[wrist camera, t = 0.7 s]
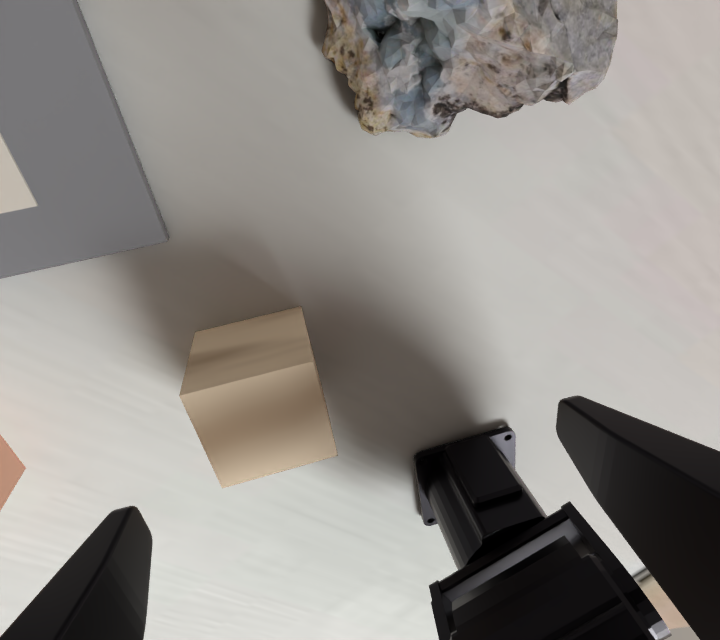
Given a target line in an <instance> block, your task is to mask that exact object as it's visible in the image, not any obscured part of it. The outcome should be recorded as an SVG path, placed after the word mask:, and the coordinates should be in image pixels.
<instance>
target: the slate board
mask: <svg viewBox="0 0 720 640" xmlns="http://www.w3.org/2000/svg"><path fill="white" fill-rule="evenodd" d="M169 238H170V237H169V235H168V232H167V229H166V227H165V224H164V222H163V219H162V217H161V214H160V212H159V209H158V206H157V204H156V201H155V199H154V196H153V194H152V191H151V189H150V186H149V184H148V181H147V178H146V176H145V173H144V171H143V168H142V166H141V163H140V161H139V158H138V155H137V153H136V150H135V148H134V145H133V143H132V140H131V138H130V135H129V132H128V130H127V127H126V125H125V122H124V120H123V117H122V115H121V112H120V109H119V107H118V104H117V102H116V99H115V97H114V94H113V92H112V89H111V86H110V84H109V81H108V79H107V76H106V74H105V71H104V69H103V66H102V63H101V61H100V58H99V56H98V53H97V51H96V48H95V46H94V43H93V40H92V38H91V35H90V33H89V30H88V28H87V25H86V23H85V20H84V17H83V15H82V12H81V10H80V7H79V5H78V2H77V0H0V279H1V278H5V277H10V276H14V275H19V274H23V273H28V272H32V271H37V270H41V269H46V268H50V267H55V266H60V265H64V264H69V263H73V262H78V261H82V260H87V259H91V258H96V257H100V256H105V255H109V254H114V253H118V252H123V251H127V250H132V249H136V248H141V247H145V246H150V245H155V244H159V243H164V242H167V241H168V239H169Z"/></svg>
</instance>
